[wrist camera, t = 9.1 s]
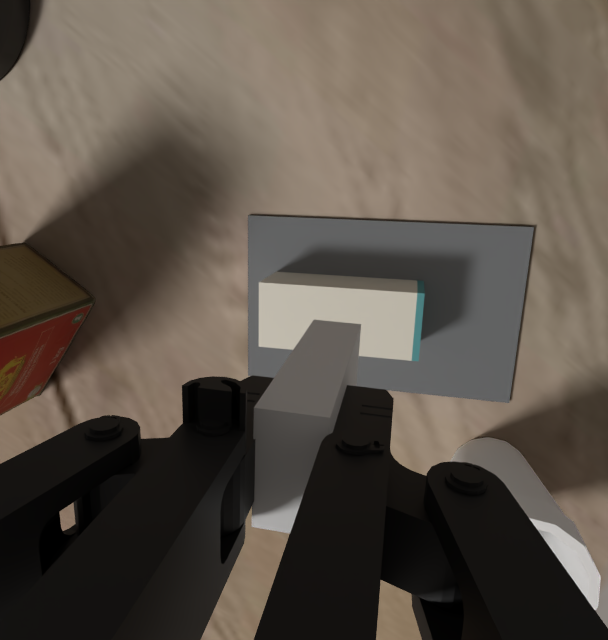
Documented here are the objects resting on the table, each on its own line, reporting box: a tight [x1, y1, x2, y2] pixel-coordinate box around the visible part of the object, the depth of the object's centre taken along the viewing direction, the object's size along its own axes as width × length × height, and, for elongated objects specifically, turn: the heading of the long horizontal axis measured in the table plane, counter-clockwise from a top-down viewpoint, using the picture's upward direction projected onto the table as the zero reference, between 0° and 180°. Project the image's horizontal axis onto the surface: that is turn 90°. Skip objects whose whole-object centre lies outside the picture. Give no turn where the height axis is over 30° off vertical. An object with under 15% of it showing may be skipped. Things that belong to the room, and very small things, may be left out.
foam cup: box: [450, 437, 601, 610], centre depth 37 cm, size 10×9×13 cm
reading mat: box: [248, 215, 534, 403], centre depth 42 cm, size 22×14×1 cm, turn 88°
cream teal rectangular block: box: [259, 272, 425, 361], centre depth 40 cm, size 5×5×12 cm
